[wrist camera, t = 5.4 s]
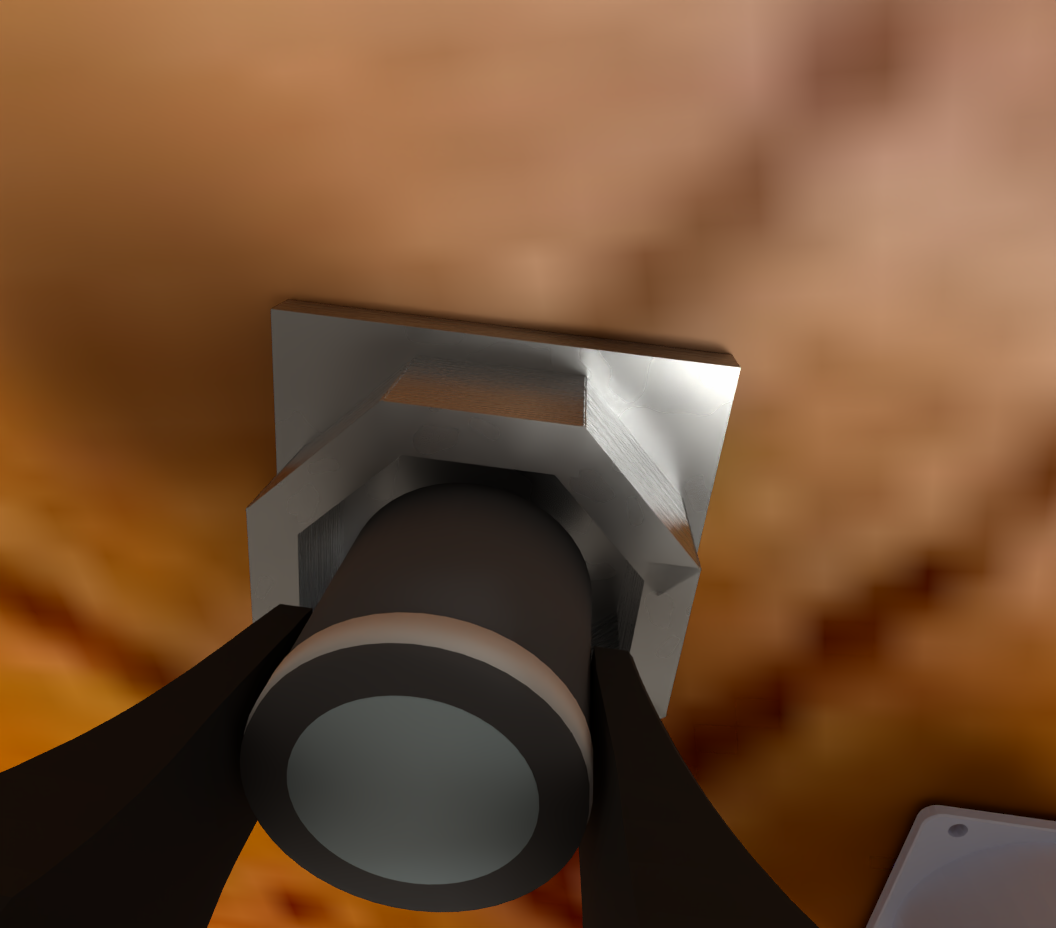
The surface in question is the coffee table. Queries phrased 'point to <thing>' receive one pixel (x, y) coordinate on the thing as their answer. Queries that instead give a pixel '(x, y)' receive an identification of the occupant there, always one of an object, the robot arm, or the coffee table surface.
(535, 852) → the lens
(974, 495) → the coffee table surface
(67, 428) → the coffee table surface
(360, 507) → the mount
